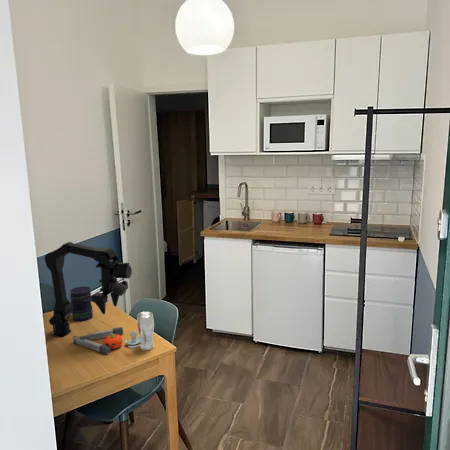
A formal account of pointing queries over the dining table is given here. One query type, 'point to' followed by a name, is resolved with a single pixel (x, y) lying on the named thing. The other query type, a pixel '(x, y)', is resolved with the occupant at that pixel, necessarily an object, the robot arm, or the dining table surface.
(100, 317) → the dining table surface
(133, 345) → the pacifier
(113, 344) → the pumpkin
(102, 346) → the tong base
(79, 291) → the storage jar
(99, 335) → the tong leg
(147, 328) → the silver drink can
